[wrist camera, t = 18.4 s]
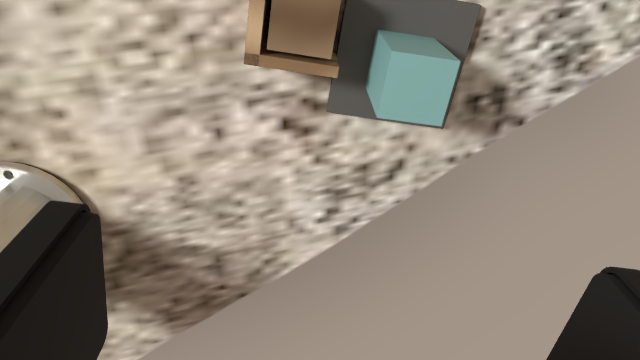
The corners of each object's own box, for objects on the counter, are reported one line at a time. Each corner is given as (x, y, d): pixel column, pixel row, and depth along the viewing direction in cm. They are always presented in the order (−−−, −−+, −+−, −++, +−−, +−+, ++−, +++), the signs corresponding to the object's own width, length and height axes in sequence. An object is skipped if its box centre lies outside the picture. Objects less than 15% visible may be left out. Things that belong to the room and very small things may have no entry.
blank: (419, 94, 38) (441, 126, 32) (365, 86, 38) (377, 117, 31) (434, 38, 36) (460, 61, 30) (376, 29, 35) (392, 50, 29)
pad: (441, 126, 40) (443, 128, 39) (326, 109, 39) (326, 111, 38) (478, 4, 35) (481, 5, 35) (349, -19, 34) (349, -18, 34)
